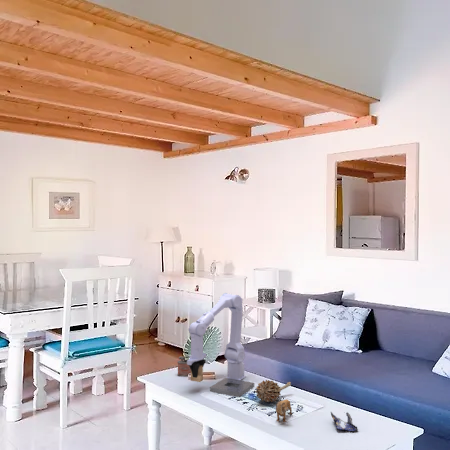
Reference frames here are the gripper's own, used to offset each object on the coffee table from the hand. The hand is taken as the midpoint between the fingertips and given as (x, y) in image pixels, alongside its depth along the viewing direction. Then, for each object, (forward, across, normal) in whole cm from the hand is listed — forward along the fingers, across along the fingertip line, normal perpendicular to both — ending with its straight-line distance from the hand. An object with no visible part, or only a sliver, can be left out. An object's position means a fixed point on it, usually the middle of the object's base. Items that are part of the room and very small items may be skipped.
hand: (196, 376), depth 233 cm
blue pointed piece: (+8, +7, +72) cm, 73 cm away
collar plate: (+7, -10, +14) cm, 18 cm away
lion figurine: (+7, +11, +49) cm, 51 cm away
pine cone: (+7, -7, +37) cm, 38 cm away
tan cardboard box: (+2, 0, 0) cm, 2 cm away
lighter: (+7, -16, -17) cm, 24 cm away
